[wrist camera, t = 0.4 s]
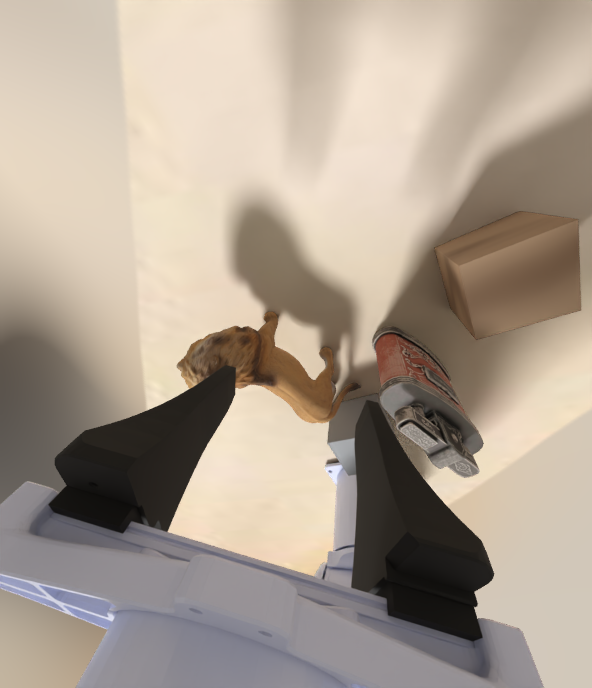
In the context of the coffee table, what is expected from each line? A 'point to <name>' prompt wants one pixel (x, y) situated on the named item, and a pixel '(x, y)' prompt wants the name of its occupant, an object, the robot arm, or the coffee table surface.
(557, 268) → the walnut block
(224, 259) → the coffee table surface
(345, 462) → the gray block
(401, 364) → the lighter
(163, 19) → the coffee table surface
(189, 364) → the lion figurine
